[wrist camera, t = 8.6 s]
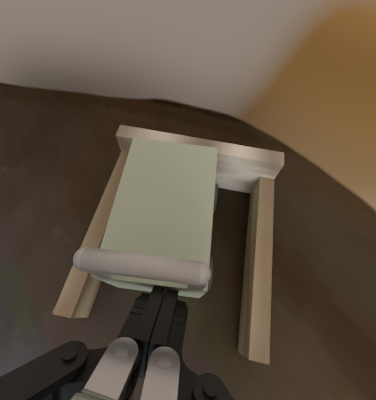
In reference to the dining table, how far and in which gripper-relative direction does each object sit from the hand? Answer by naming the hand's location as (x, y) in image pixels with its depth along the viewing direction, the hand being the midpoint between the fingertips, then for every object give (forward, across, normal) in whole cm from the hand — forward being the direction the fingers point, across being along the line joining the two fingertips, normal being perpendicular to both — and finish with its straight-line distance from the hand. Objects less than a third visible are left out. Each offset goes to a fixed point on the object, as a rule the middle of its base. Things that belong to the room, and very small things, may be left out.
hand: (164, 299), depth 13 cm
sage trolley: (+7, +1, -1) cm, 7 cm away
